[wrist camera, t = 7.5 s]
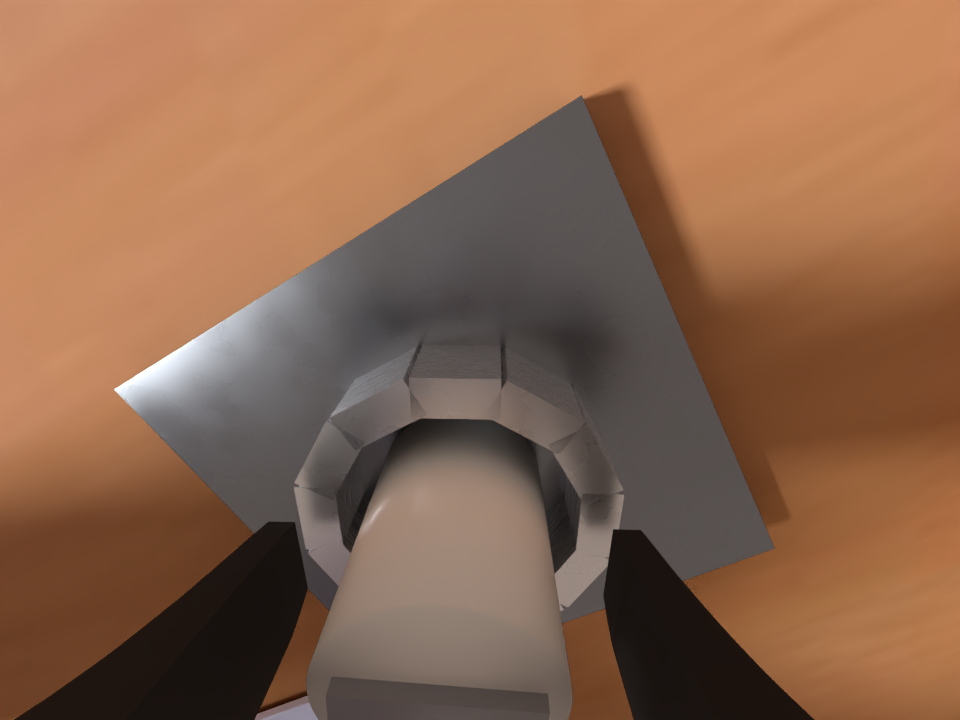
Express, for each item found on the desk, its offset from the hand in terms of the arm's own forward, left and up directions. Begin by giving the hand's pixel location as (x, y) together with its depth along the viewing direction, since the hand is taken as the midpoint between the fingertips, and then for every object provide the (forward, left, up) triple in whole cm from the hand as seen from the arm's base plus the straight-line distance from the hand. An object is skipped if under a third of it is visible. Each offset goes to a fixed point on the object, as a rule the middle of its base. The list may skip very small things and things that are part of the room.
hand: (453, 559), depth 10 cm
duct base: (0, 0, -4) cm, 4 cm away
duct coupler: (0, 0, -3) cm, 3 cm away
